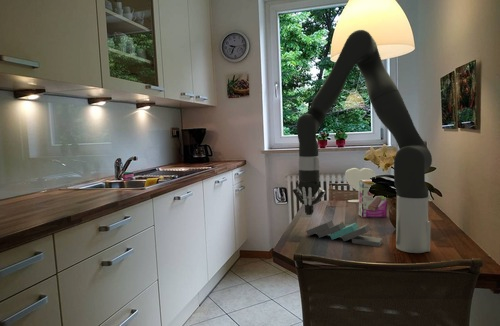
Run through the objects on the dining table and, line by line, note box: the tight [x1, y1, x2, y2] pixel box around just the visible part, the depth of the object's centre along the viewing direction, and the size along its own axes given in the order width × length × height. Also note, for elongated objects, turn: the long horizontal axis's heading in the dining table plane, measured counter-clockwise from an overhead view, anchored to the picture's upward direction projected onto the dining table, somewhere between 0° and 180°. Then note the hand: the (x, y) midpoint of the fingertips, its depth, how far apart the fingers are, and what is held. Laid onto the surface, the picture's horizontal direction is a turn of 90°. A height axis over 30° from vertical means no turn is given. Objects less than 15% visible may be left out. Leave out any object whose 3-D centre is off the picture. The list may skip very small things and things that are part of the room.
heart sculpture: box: [344, 167, 377, 203], centre depth 196 cm, size 16×5×18 cm, turn 78°
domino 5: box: [351, 235, 384, 247], centre depth 124 cm, size 2×5×9 cm
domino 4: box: [340, 223, 371, 242], centre depth 126 cm, size 2×5×9 cm
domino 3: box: [329, 222, 359, 240], centre depth 128 cm, size 2×5×9 cm
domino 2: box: [316, 221, 346, 239], centre depth 131 cm, size 2×5×9 cm
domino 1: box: [305, 219, 335, 237], centre depth 133 cm, size 2×5×9 cm
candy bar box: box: [358, 180, 388, 219], centre depth 160 cm, size 11×5×16 cm, turn 92°
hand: (309, 214), depth 135 cm, fingers closed
